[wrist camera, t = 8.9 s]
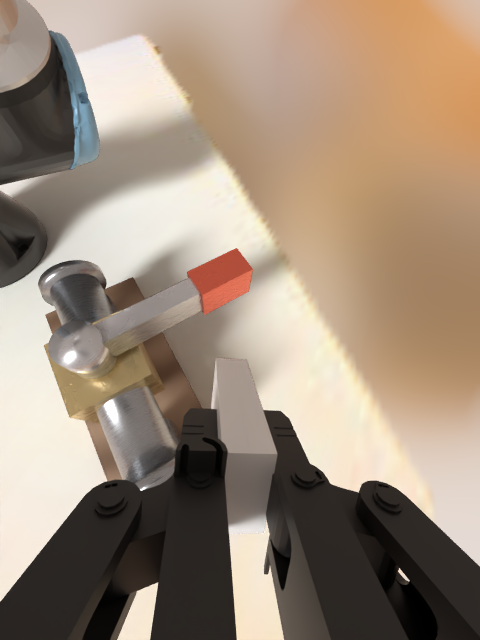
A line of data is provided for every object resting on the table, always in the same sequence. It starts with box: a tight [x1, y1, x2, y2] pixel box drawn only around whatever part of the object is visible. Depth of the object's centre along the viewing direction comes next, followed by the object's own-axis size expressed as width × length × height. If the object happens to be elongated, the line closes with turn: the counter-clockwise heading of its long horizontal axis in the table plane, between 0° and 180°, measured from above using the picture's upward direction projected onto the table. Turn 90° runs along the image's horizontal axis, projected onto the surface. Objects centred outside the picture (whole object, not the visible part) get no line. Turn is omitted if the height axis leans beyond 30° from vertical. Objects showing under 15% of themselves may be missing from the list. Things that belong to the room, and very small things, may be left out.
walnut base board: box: [46, 277, 202, 481], centre depth 35 cm, size 28×12×2 cm, turn 31°
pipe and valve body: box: [38, 260, 181, 490], centre depth 30 cm, size 23×7×10 cm, turn 31°
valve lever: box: [48, 248, 253, 379], centre depth 25 cm, size 17×4×4 cm, turn 122°
